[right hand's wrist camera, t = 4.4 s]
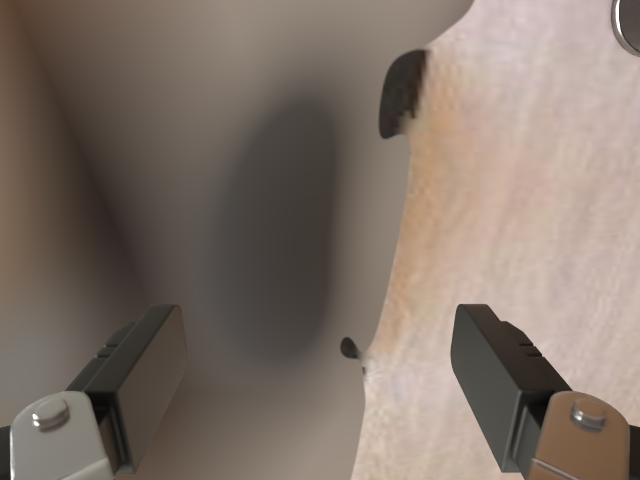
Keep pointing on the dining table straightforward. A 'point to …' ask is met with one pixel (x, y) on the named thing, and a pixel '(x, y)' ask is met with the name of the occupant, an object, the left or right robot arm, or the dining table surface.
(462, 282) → the dining table surface
